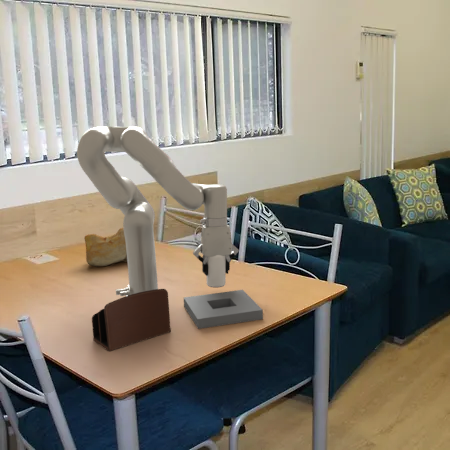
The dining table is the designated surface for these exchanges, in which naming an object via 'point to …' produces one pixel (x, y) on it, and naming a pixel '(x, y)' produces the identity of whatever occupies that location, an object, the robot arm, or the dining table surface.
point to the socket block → (222, 308)
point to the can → (216, 271)
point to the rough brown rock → (105, 249)
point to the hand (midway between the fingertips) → (216, 273)
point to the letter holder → (132, 319)
